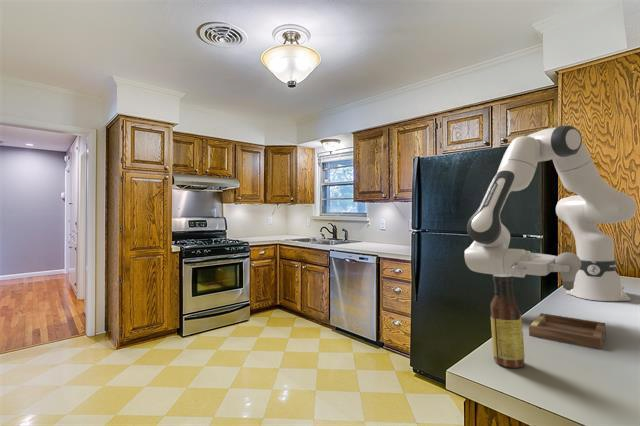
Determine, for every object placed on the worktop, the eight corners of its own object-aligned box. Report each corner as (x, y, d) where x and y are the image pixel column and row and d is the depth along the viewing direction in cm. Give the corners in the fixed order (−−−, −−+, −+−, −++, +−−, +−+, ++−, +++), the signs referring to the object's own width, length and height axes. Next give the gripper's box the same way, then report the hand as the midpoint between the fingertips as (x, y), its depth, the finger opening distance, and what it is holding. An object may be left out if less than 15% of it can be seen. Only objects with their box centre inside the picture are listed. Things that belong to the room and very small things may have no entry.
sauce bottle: (531, 366, 74) (528, 276, 74) (509, 371, 72) (505, 279, 72) (507, 355, 80) (504, 271, 80) (485, 359, 78) (482, 274, 78)
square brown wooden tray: (541, 321, 103) (541, 313, 103) (605, 332, 92) (605, 322, 92) (529, 335, 92) (528, 326, 92) (600, 349, 81) (599, 338, 81)
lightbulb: (586, 292, 94) (585, 253, 94) (561, 291, 95) (561, 252, 96) (574, 289, 100) (574, 252, 100) (551, 288, 101) (551, 251, 102)
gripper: (507, 256, 99) (565, 260, 90) (525, 250, 114) (576, 252, 104) (508, 277, 99) (565, 284, 90) (526, 268, 114) (577, 272, 104)
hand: (571, 267), depth 97 cm, fingers closed on lightbulb, 5 cm apart
